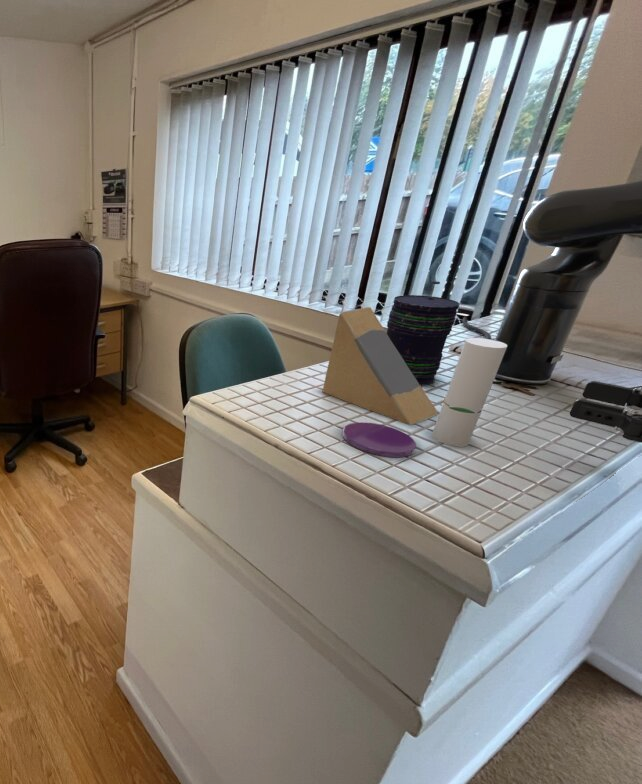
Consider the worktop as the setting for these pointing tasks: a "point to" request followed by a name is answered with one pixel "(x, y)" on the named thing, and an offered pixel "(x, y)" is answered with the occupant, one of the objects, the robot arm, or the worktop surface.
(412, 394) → the sandwich container
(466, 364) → the tube
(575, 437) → the worktop surface
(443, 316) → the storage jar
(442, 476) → the worktop surface
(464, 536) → the worktop surface
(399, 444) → the purple disc
